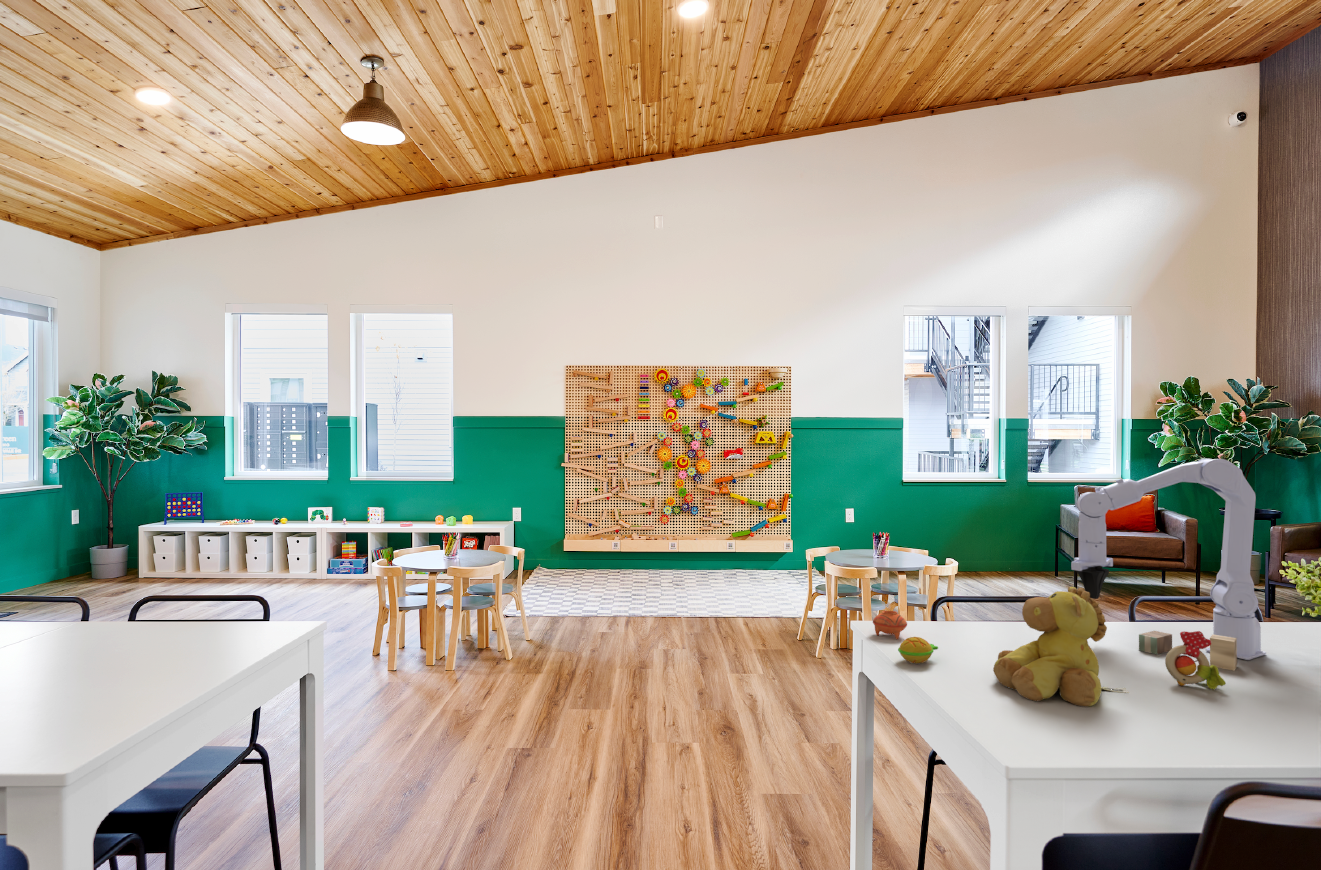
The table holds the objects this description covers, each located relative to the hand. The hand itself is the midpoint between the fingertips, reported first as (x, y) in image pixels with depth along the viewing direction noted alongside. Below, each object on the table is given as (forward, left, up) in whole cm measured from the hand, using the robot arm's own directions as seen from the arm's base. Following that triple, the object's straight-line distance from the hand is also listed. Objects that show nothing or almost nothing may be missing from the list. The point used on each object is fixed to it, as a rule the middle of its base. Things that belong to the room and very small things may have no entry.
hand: (1092, 597), depth 166 cm
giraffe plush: (+42, +16, -10) cm, 46 cm away
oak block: (-3, +25, -10) cm, 27 cm away
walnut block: (0, +12, -8) cm, 14 cm away
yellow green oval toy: (+52, -8, -10) cm, 53 cm away
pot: (+42, -25, -10) cm, 50 cm away
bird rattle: (+17, +28, -10) cm, 34 cm away
